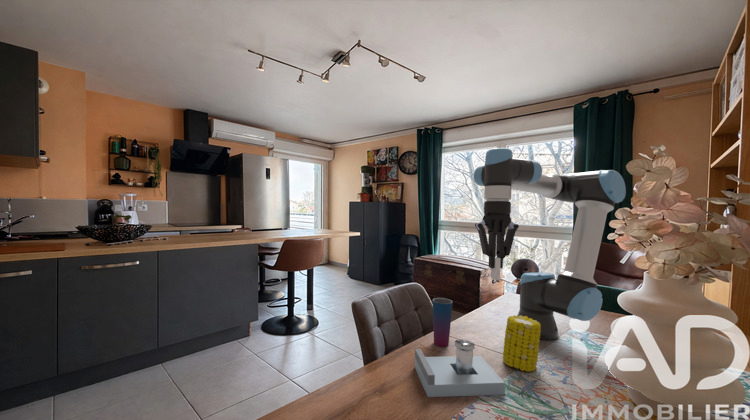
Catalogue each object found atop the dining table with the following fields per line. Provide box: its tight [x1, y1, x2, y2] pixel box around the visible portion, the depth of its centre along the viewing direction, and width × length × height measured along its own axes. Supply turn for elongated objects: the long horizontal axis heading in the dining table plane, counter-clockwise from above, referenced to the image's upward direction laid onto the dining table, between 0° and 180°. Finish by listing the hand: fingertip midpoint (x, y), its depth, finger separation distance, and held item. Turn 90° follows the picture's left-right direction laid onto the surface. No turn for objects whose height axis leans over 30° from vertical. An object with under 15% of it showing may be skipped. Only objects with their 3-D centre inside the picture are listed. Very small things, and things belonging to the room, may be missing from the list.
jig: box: [414, 348, 506, 398], centre depth 82 cm, size 20×14×5 cm
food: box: [502, 315, 541, 373], centre depth 91 cm, size 15×12×10 cm
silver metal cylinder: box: [454, 338, 475, 375], centre depth 82 cm, size 5×5×10 cm
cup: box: [432, 297, 453, 348], centre depth 104 cm, size 7×7×15 cm
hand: (495, 278), depth 90 cm, fingers closed
